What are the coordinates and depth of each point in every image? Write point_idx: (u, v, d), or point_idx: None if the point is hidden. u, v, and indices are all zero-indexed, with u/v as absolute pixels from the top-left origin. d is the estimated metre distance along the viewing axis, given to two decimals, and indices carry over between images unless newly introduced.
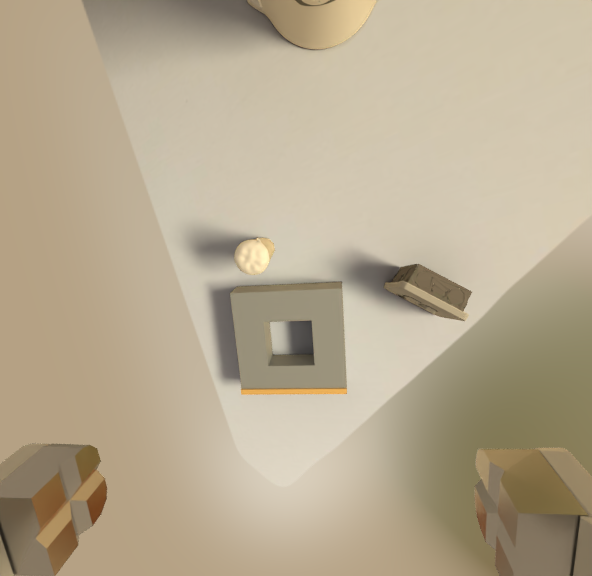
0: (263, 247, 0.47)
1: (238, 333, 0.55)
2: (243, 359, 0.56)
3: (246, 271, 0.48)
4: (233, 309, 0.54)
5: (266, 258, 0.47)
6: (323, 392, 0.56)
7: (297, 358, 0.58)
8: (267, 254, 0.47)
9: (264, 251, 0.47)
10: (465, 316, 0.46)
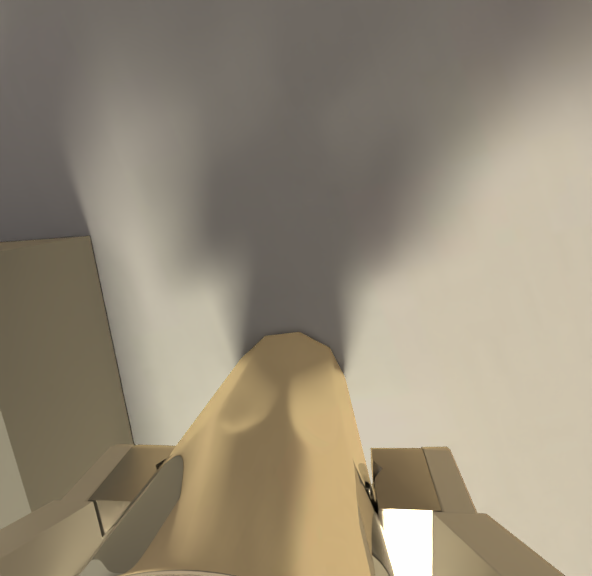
0: None
1: None
2: None
3: None
4: None
5: None
6: None
7: None
8: None
9: None
10: None
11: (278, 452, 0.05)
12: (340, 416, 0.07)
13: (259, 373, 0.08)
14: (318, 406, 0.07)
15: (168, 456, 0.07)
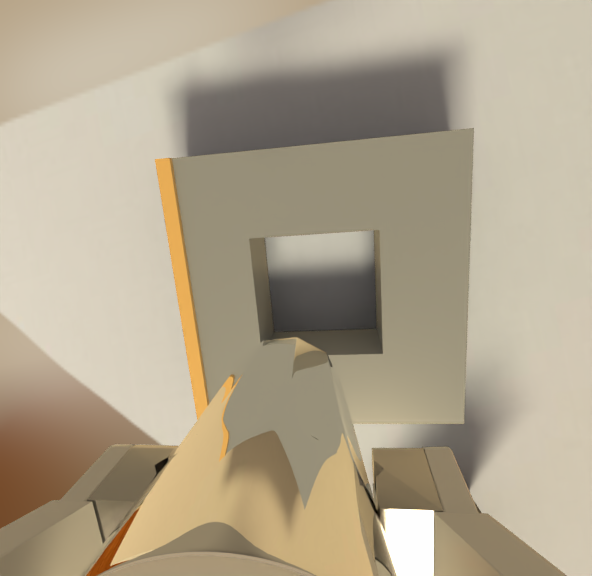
0: None
1: (343, 153, 0.19)
2: (262, 167, 0.19)
3: None
4: (420, 138, 0.18)
5: None
6: (194, 376, 0.23)
7: (265, 298, 0.24)
8: None
9: None
10: None
11: (284, 447, 0.05)
12: (339, 417, 0.07)
13: (260, 375, 0.08)
14: (318, 407, 0.07)
15: (173, 454, 0.07)
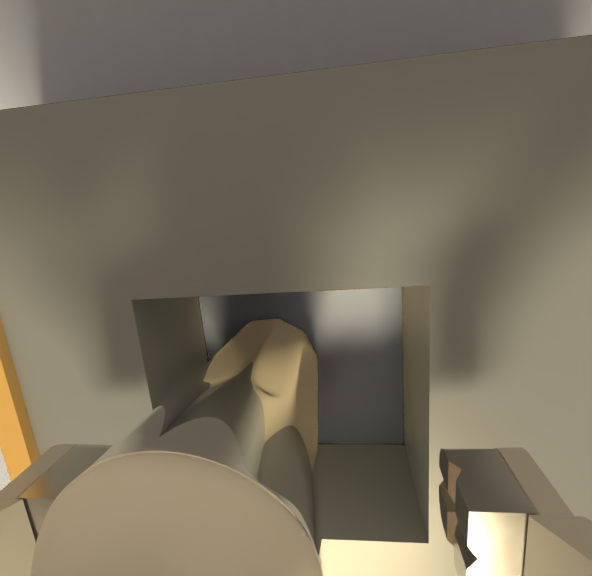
0: None
1: (343, 99, 0.07)
2: (148, 136, 0.08)
3: None
4: (547, 55, 0.07)
5: None
6: None
7: None
8: None
9: None
10: None
11: (236, 396, 0.07)
12: (296, 380, 0.09)
13: (237, 348, 0.10)
14: (278, 372, 0.09)
15: None
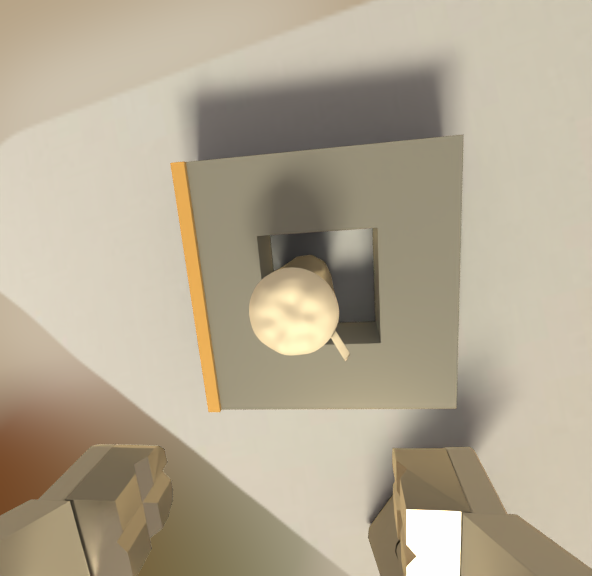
0: (319, 346, 0.19)
1: (344, 157, 0.20)
2: (269, 170, 0.21)
3: (256, 304, 0.18)
4: (414, 144, 0.20)
5: (292, 353, 0.19)
6: (205, 365, 0.24)
7: None
8: (301, 353, 0.19)
9: (309, 349, 0.19)
10: None
11: (305, 264, 0.20)
12: (324, 269, 0.22)
13: (297, 260, 0.23)
14: (317, 266, 0.22)
15: None
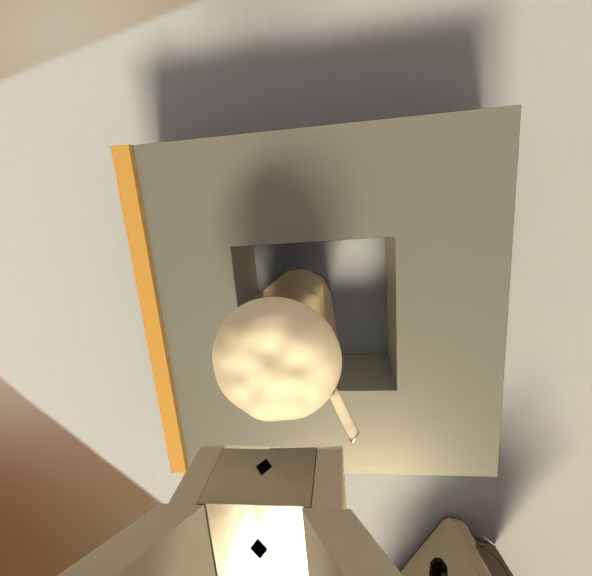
0: (313, 410, 0.13)
1: (350, 138, 0.15)
2: (246, 156, 0.15)
3: (221, 351, 0.12)
4: (450, 119, 0.14)
5: (274, 420, 0.13)
6: (165, 414, 0.19)
7: None
8: (288, 419, 0.13)
9: (299, 415, 0.13)
10: None
11: (295, 289, 0.14)
12: (322, 292, 0.16)
13: (286, 278, 0.17)
14: (312, 288, 0.16)
15: None
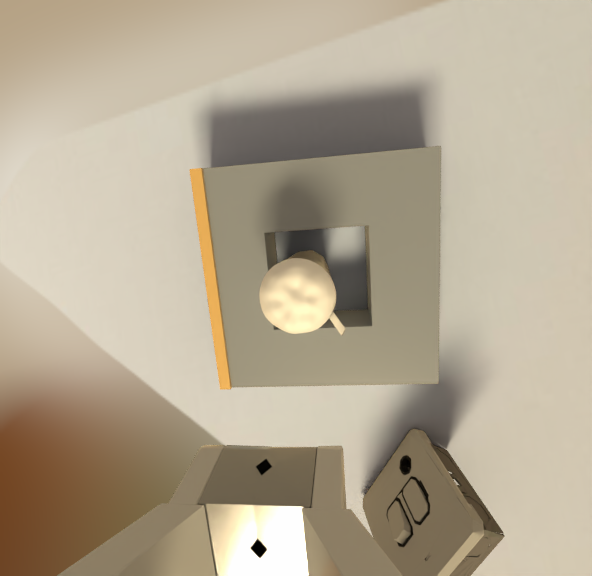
0: (319, 325, 0.22)
1: (339, 165, 0.24)
2: (275, 175, 0.24)
3: (266, 289, 0.21)
4: (400, 153, 0.23)
5: (296, 331, 0.22)
6: (217, 347, 0.28)
7: None
8: (304, 332, 0.22)
9: (311, 328, 0.22)
10: None
11: (307, 257, 0.24)
12: (323, 262, 0.26)
13: (299, 254, 0.27)
14: (317, 259, 0.26)
15: None
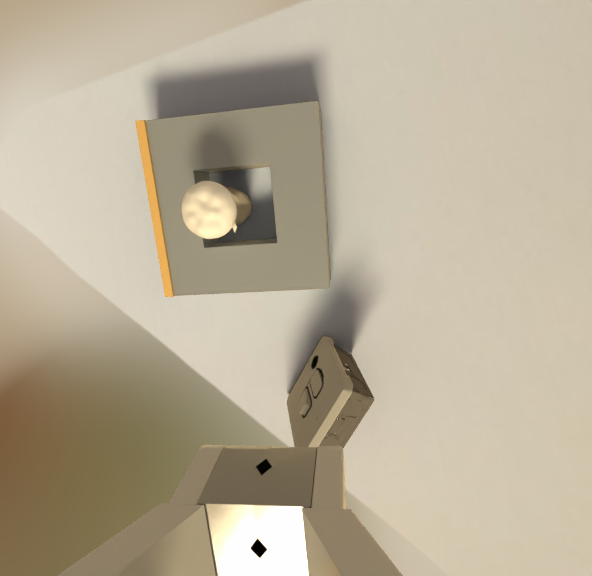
0: (225, 231, 0.30)
1: (246, 116, 0.32)
2: (199, 125, 0.32)
3: (184, 203, 0.30)
4: (288, 107, 0.31)
5: (208, 236, 0.30)
6: (161, 262, 0.36)
7: None
8: (215, 237, 0.30)
9: (218, 233, 0.30)
10: None
11: None
12: (238, 192, 0.34)
13: None
14: (233, 190, 0.34)
15: None
